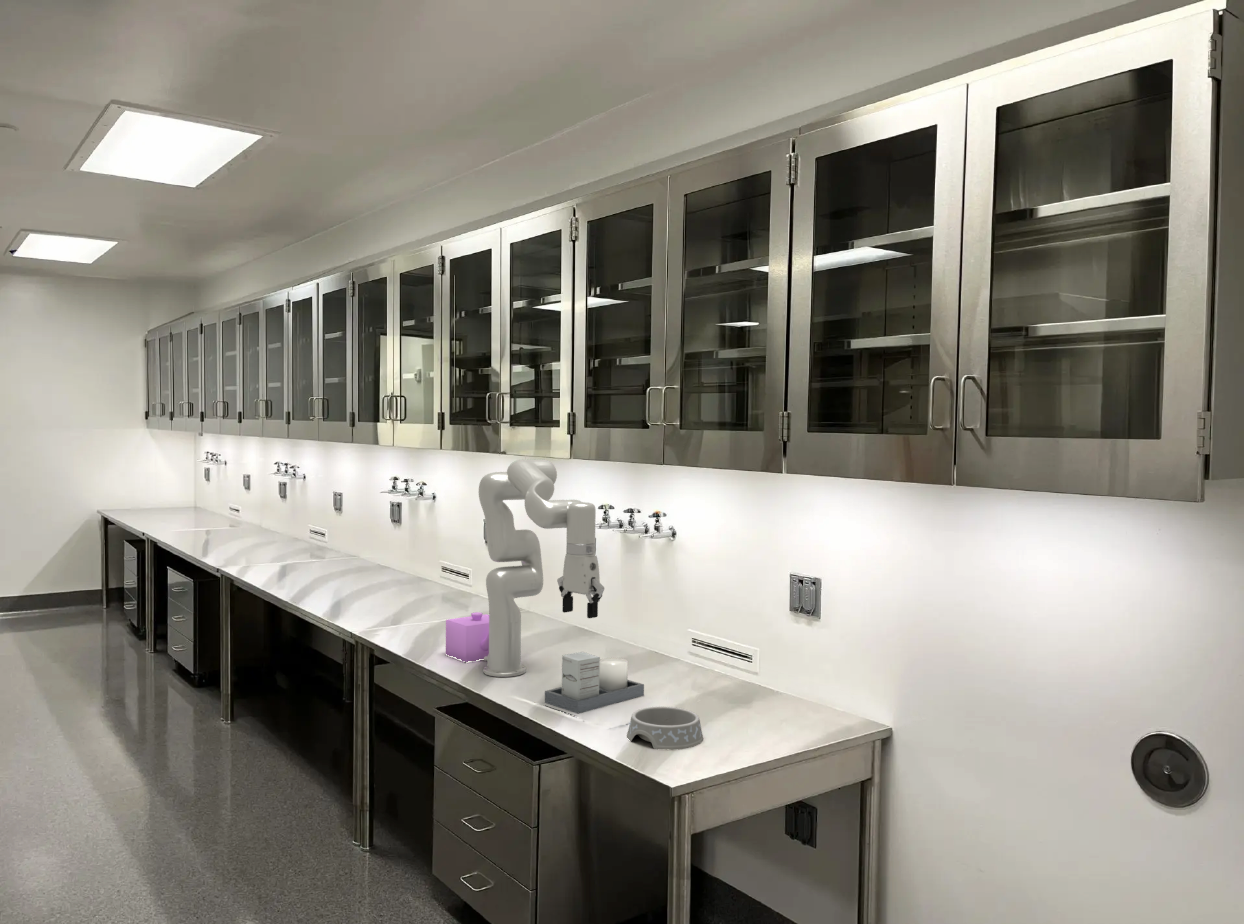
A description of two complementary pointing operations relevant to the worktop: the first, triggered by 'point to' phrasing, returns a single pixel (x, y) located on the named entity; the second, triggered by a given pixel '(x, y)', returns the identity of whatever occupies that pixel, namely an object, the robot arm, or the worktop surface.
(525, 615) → the worktop surface
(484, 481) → the robot arm
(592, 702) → the divided grey tray
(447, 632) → the teapot
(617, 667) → the white rounded cylinder
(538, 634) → the worktop surface
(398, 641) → the worktop surface
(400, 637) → the worktop surface
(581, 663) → the supplement box
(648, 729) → the dog bowl
